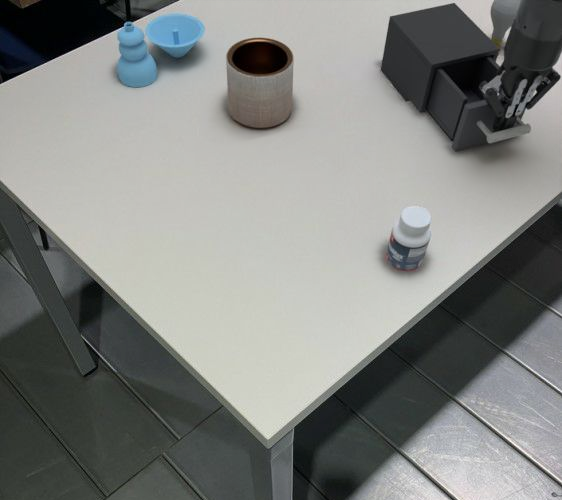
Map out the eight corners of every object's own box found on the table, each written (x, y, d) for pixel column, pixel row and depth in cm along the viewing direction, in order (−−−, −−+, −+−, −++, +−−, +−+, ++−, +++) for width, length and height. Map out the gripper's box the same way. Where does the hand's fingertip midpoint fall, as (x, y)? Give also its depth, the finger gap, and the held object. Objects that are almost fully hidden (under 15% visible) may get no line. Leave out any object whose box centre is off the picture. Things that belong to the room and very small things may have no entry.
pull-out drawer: (530, 153, 100) (549, 111, 94) (470, 170, 98) (485, 128, 91) (472, 88, 109) (486, 45, 102) (415, 102, 106) (425, 59, 100)
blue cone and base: (180, 30, 117) (174, -20, 110) (218, 54, 114) (215, 3, 106) (104, 70, 110) (92, 19, 103) (142, 97, 107) (132, 46, 99)
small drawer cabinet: (482, 102, 108) (500, 48, 100) (419, 117, 106) (432, 64, 97) (441, 55, 115) (454, 2, 107) (380, 69, 113) (389, 16, 104)
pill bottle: (378, 253, 90) (389, 207, 82) (410, 243, 91) (423, 197, 83) (395, 279, 87) (407, 234, 79) (428, 269, 88) (443, 224, 81)
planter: (218, 99, 107) (215, 45, 99) (276, 84, 110) (277, 30, 101) (242, 137, 102) (241, 83, 94) (302, 121, 104) (305, 67, 96)
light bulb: (509, 42, 118) (528, -13, 109) (507, 58, 115) (527, 3, 107) (480, 38, 119) (497, -18, 110) (478, 54, 116) (495, -2, 107)
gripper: (515, 47, 79) (476, 158, 94) (601, 28, 82) (549, 138, 97) (485, 16, 83) (451, 128, 98) (567, -1, 85) (522, 110, 100)
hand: (500, 133), depth 97 cm, fingers closed
